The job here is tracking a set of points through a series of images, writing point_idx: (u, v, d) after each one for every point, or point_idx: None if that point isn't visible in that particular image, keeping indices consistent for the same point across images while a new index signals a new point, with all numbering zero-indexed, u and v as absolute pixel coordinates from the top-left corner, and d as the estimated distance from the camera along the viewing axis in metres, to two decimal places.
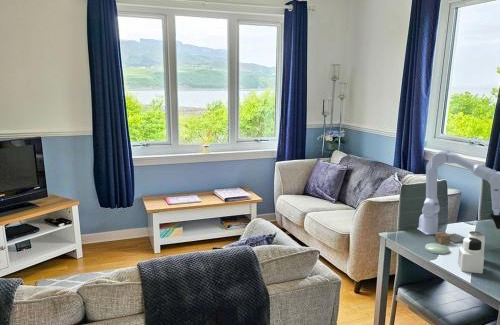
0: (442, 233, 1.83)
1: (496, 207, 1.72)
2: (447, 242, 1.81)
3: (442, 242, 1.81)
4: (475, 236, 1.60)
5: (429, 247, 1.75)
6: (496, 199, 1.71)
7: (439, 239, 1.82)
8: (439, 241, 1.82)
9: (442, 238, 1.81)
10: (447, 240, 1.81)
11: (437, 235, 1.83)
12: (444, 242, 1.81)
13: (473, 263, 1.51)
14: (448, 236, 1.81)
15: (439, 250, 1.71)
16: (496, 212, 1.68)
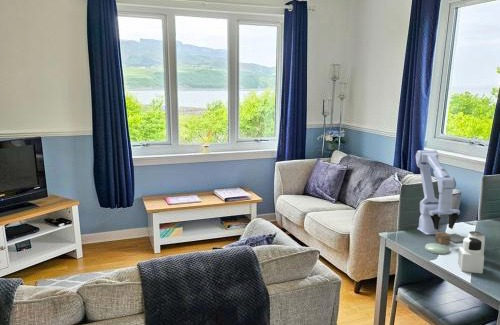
0: (442, 233, 1.83)
1: (438, 209, 1.81)
2: (447, 242, 1.81)
3: (442, 242, 1.81)
4: (475, 236, 1.60)
5: (429, 247, 1.75)
6: (439, 202, 1.80)
7: (439, 239, 1.82)
8: (439, 241, 1.82)
9: (442, 238, 1.81)
10: (447, 240, 1.81)
11: (437, 235, 1.83)
12: (444, 242, 1.81)
13: (473, 263, 1.51)
14: (448, 236, 1.81)
15: (439, 250, 1.71)
16: (430, 212, 1.80)
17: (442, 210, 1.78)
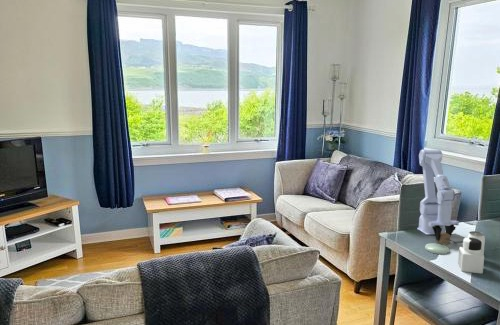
0: (442, 233, 1.83)
1: (437, 220, 1.82)
2: (447, 242, 1.81)
3: (442, 242, 1.81)
4: (475, 236, 1.60)
5: (429, 247, 1.75)
6: (438, 213, 1.81)
7: None
8: (439, 241, 1.82)
9: (442, 238, 1.81)
10: (447, 240, 1.81)
11: None
12: (444, 241, 1.81)
13: (473, 263, 1.51)
14: (448, 236, 1.81)
15: (439, 250, 1.71)
16: (429, 224, 1.81)
17: (442, 221, 1.79)
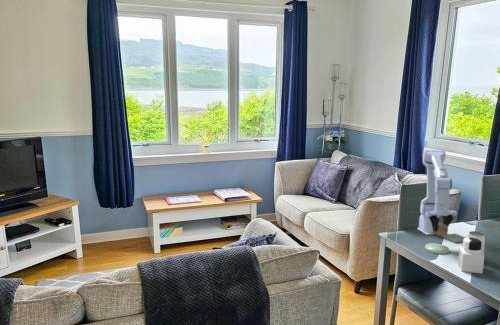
0: (439, 224, 1.76)
1: (435, 210, 1.74)
2: (445, 233, 1.74)
3: (440, 233, 1.73)
4: (475, 236, 1.60)
5: (429, 247, 1.75)
6: (435, 203, 1.74)
7: None
8: (437, 232, 1.74)
9: (439, 229, 1.73)
10: (445, 231, 1.74)
11: None
12: (442, 233, 1.74)
13: (473, 263, 1.51)
14: (446, 227, 1.73)
15: (439, 250, 1.71)
16: (426, 214, 1.73)
17: (439, 211, 1.72)
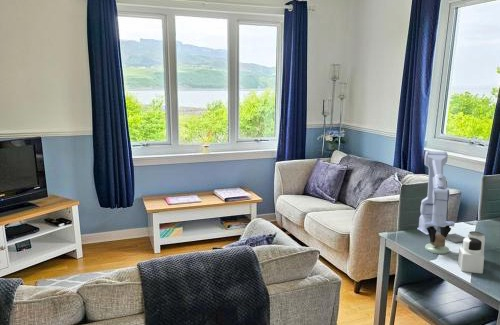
0: (437, 235, 1.74)
1: (432, 221, 1.73)
2: (442, 244, 1.72)
3: (437, 244, 1.72)
4: (475, 236, 1.60)
5: (429, 247, 1.75)
6: (433, 213, 1.72)
7: (434, 241, 1.73)
8: (434, 243, 1.73)
9: (437, 240, 1.71)
10: (443, 242, 1.72)
11: None
12: (440, 244, 1.72)
13: (473, 263, 1.51)
14: (443, 238, 1.71)
15: (439, 250, 1.71)
16: (424, 225, 1.72)
17: (436, 222, 1.70)
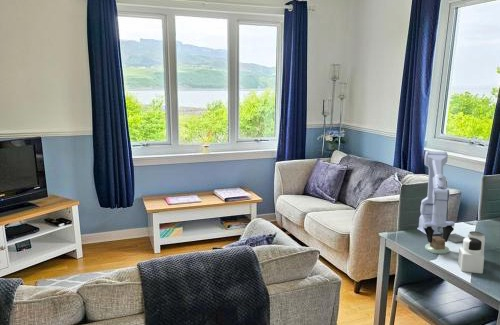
0: (437, 237, 1.74)
1: (432, 221, 1.73)
2: (442, 247, 1.72)
3: (437, 247, 1.72)
4: (475, 236, 1.60)
5: (429, 247, 1.75)
6: (433, 213, 1.72)
7: (434, 244, 1.73)
8: (434, 246, 1.73)
9: (437, 243, 1.72)
10: (443, 245, 1.72)
11: (432, 240, 1.74)
12: (439, 247, 1.72)
13: (473, 263, 1.51)
14: (443, 241, 1.72)
15: (439, 250, 1.71)
16: (424, 225, 1.72)
17: (436, 222, 1.70)
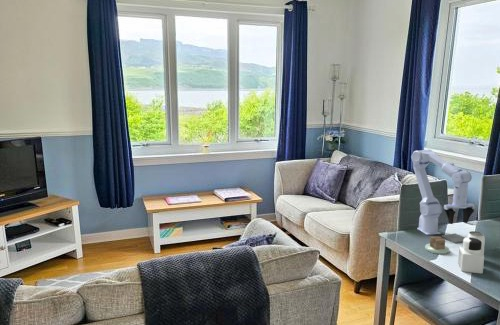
0: (437, 237, 1.74)
1: (453, 203, 1.79)
2: (442, 247, 1.72)
3: (437, 247, 1.72)
4: (475, 236, 1.60)
5: (429, 247, 1.75)
6: (454, 196, 1.78)
7: (434, 244, 1.73)
8: (434, 246, 1.73)
9: (437, 243, 1.72)
10: (443, 245, 1.72)
11: (432, 240, 1.74)
12: (439, 247, 1.72)
13: (473, 263, 1.51)
14: (443, 241, 1.72)
15: (439, 250, 1.71)
16: (445, 206, 1.78)
17: (457, 204, 1.77)
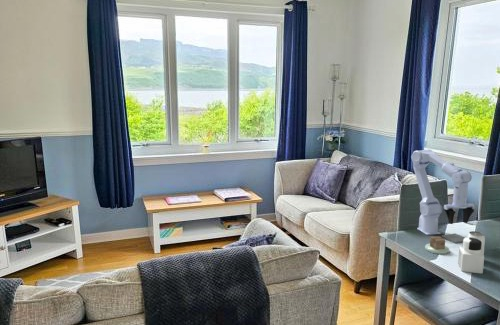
0: (437, 237, 1.74)
1: (453, 203, 1.79)
2: (442, 247, 1.72)
3: (437, 247, 1.72)
4: (475, 236, 1.60)
5: (429, 247, 1.75)
6: (454, 196, 1.78)
7: (434, 244, 1.73)
8: (434, 246, 1.73)
9: (437, 243, 1.72)
10: (443, 245, 1.72)
11: (432, 240, 1.74)
12: (439, 247, 1.72)
13: (473, 263, 1.51)
14: (443, 241, 1.72)
15: (439, 250, 1.71)
16: (445, 206, 1.78)
17: (457, 204, 1.77)
